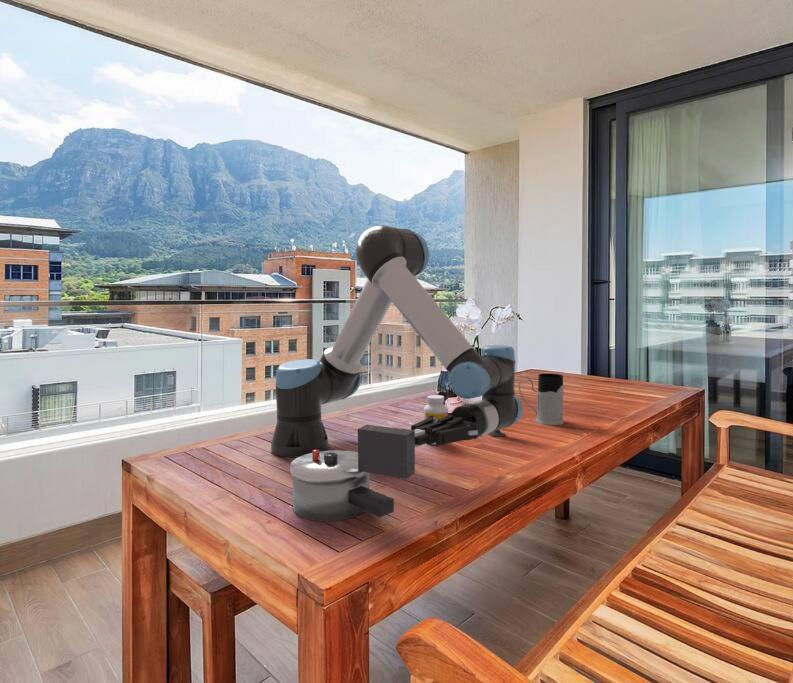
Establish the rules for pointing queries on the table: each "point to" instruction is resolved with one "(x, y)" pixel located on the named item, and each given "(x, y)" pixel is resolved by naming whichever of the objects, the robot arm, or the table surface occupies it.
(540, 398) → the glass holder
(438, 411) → the supplement bottle
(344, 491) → the pot
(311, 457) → the lid
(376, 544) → the table surface
